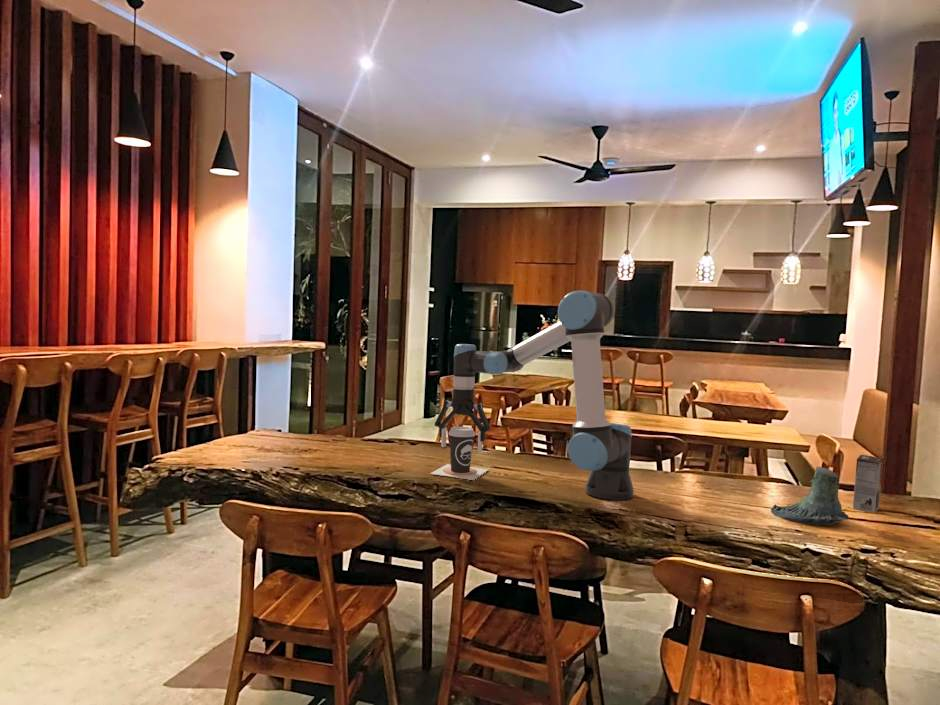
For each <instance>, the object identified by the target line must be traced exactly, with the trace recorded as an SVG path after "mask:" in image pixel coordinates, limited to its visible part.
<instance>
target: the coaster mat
mask: <svg viewBox="0 0 940 705" xmlns="http://www.w3.org/2000/svg"><path fill="white" fill-rule="evenodd" d="M487 471H488V472H490V469H488V468H480V467H474V466H473V467H472V466H470V471H469V472H467V473H455V472H452V471H451V463H450V464H449V463H447V464H445V465H443V466H441V467H439V468H437V469H435V470H434V471H432V472H430V473H429V475H430V474H433V475H440V476H449V477H456V478H463V479H468V480H467V481H469V480H473V481H472V482H475V481H476V480H478V479H479V478H480V476H481V475H482V476H484V475H485V474H487V473H488V472H487ZM486 472H487V473H486ZM484 473H485V474H484ZM483 474H484V475H483ZM433 475H432V476H433ZM440 476H439V477H440ZM482 476H481V477H482ZM478 477H479V478H478ZM477 478H478V479H477ZM475 479H476V480H475ZM474 480H475V481H474Z"/></svg>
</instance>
